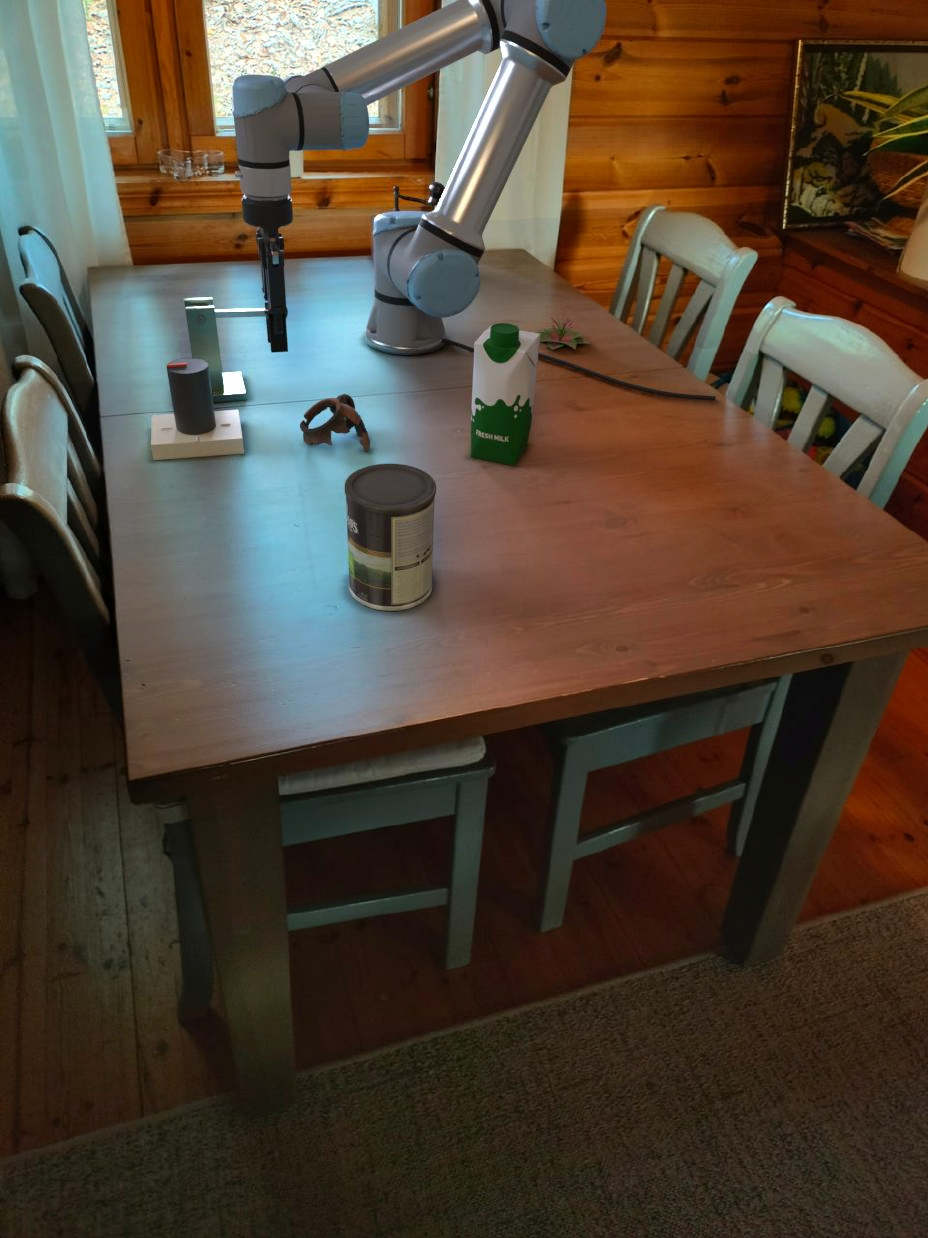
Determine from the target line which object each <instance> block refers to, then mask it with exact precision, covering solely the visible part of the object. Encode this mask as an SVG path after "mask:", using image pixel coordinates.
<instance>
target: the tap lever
mask: <svg viewBox="0 0 928 1238" xmlns="http://www.w3.org/2000/svg"><path fill="white" fill-rule="evenodd" d="M196 306H209V305H208V304H199V305H190V307H196ZM268 308H269V304H268V305H267V307H266V308H265V307H264V308H263V307H262V308H260V307H259V308H228V309H226V308H224V309H222V308H221V309H215V316H216V319H225V318H226V319H229V318H230V319H231V318H261V317H263V318H266V317H267V318H268V314H265V312H264V310H268ZM288 315H289V310H288V308H287V313H286V320H287V319H288Z"/></svg>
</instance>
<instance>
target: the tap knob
mask: <svg viewBox="0 0 928 1238" xmlns="http://www.w3.org/2000/svg"><path fill="white" fill-rule="evenodd" d="M166 373H167V377H168V379H167V380H168V385H169V391H170V392H169V393H170V398H171V404H172V410H173V414H174V417H175V423H176V429H177V430H178V431H179V432H181V433H184V434H188V435H199V434H204V433H208V432H210V431H212V430H213V429H214V428H215V427H216V420H215V412H214V411H215V405H214V402H213V397H212V390H211V382H210V375H209V367H208V363H207V362H206V361H204V360H202V359H198V358H192V357H181V358H178V359H174V360H171V361H169V362H168V363H166Z"/></svg>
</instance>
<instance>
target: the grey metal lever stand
mask: <svg viewBox="0 0 928 1238" xmlns="http://www.w3.org/2000/svg"><path fill="white" fill-rule="evenodd" d="M183 304H184V309H185V310H184V311H185V317H186V323H187V332H188V336H189V337H188V338H189V345H190V352H191V358H198V359H202V360H204V361H206V362H207V363H208V367H209V375H210V382H211V390H212V397H213V403H223V402H224V403H225V402H235V401H236V402H237V401H247V399H248V398H247V397H248V396H247V391H246V387H245V383H244V379H243V375H242V372H241V371H233V372H223V366H222V357H221V349H220V342H219V335H218V334H219V333H218V325H217V318H216V316H215V310H216V309H215V305H214V300H213V297H212V296H207V297H205V296H204V297H187V298H186V297H185V298H183ZM199 304H208V305H209V306H196V307H190V305H199Z"/></svg>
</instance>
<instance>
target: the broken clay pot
mask: <svg viewBox="0 0 928 1238" xmlns="http://www.w3.org/2000/svg"><path fill="white" fill-rule="evenodd" d="M328 408H329V412H331V413H332V416H331V417H330V418H329V419H328V420H327V421H325V422H324V423H323V424H320V425H319V426H316V427H313V428H309V427H310V424H311V422H312V421H313V420H314V419H315V417H317V416H318V415H320V414H321V413H322V412H324V411H326V410H328ZM303 418H304V419H305V420H306V421H305V420H304V419H303V420H301V422H300V423H299V429H300V431H301V432H302V440H303V442H304V443H305V444H306V445H309V446H318V445H321V444H326V445H329V446H333V443H332V432H333V433H335V434H344V435H347V434H349V433H350V432H351V429H352V428H354V430H355V433H356V437H357V438H361V439H360V440H359V442H360V444H361V446H362V449H363V452H365V453H367V452H368V451H369V449H370V447H371V439H370V438H369V432H368V431H367V428H366V425H365V423H364V420H363V419H362V416H361V415H360V414H359V413H358V412H357V410H356V405H355V400H354V399H353V398H352V396H350V395H349V394H348V393H342V394H339V395H337V397H328V398H323V399H321V400H319V401H317V402H316V403H314V404H313V405H312V406H311V407H309V408H308V409H307V410H306V411H305V413H304V414H303Z"/></svg>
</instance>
